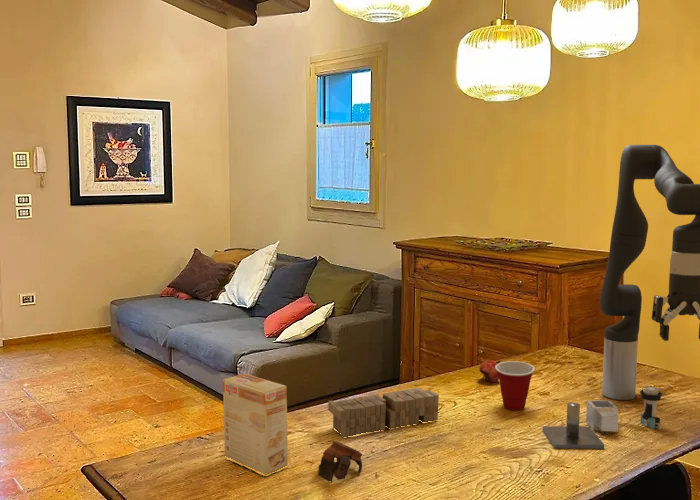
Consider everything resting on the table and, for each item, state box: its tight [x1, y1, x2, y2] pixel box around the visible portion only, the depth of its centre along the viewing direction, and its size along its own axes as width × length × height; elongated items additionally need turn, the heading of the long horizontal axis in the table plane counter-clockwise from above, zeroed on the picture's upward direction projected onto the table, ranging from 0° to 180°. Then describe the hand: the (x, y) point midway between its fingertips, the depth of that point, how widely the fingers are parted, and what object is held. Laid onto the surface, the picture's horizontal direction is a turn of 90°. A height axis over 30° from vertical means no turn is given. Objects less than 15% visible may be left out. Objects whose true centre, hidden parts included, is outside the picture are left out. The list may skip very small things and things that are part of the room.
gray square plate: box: [542, 401, 605, 450], centre depth 179 cm, size 12×12×9 cm
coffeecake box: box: [222, 373, 289, 475], centre depth 165 cm, size 15×7×20 cm, turn 47°
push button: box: [639, 386, 663, 430], centre depth 188 cm, size 7×5×10 cm
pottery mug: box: [317, 440, 363, 483], centre depth 159 cm, size 12×10×8 cm
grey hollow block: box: [585, 399, 619, 432], centre depth 186 cm, size 10×6×6 cm, turn 178°
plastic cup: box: [495, 360, 536, 412], centre depth 202 cm, size 11×11×12 cm
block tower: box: [327, 387, 440, 438], centre depth 190 cm, size 8×8×29 cm
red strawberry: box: [477, 359, 501, 383], centre depth 227 cm, size 7×7×10 cm
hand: (683, 340), depth 167 cm, fingers open, 8 cm apart
